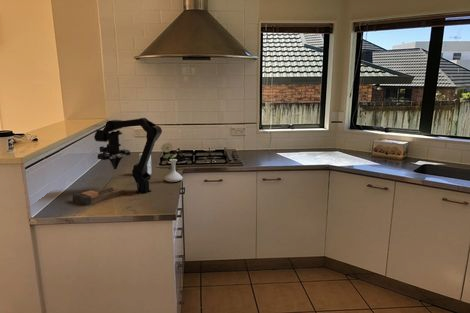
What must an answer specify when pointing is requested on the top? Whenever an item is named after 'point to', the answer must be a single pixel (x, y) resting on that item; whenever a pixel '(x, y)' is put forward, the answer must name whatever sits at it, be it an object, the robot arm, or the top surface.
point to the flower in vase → (173, 175)
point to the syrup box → (147, 164)
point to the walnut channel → (87, 199)
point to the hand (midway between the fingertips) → (115, 169)
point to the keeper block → (91, 194)
